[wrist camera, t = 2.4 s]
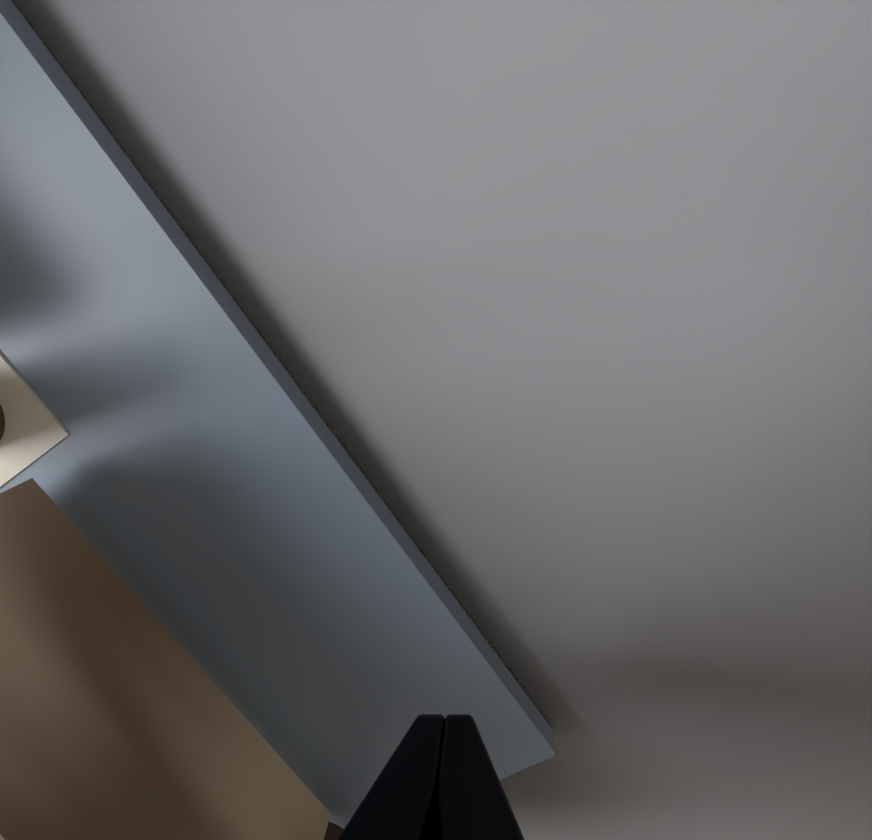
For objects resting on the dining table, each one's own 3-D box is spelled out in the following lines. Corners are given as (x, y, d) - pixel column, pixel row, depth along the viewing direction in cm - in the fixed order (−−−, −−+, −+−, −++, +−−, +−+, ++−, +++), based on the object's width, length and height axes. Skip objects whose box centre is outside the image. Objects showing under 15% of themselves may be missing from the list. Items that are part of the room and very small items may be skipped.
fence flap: (-22, 518, 9) (-465, 743, 5) (31, 477, 9) (-389, 679, 5) (315, 879, 11) (208, 1279, 7) (369, 857, 11) (294, 1257, 7)
